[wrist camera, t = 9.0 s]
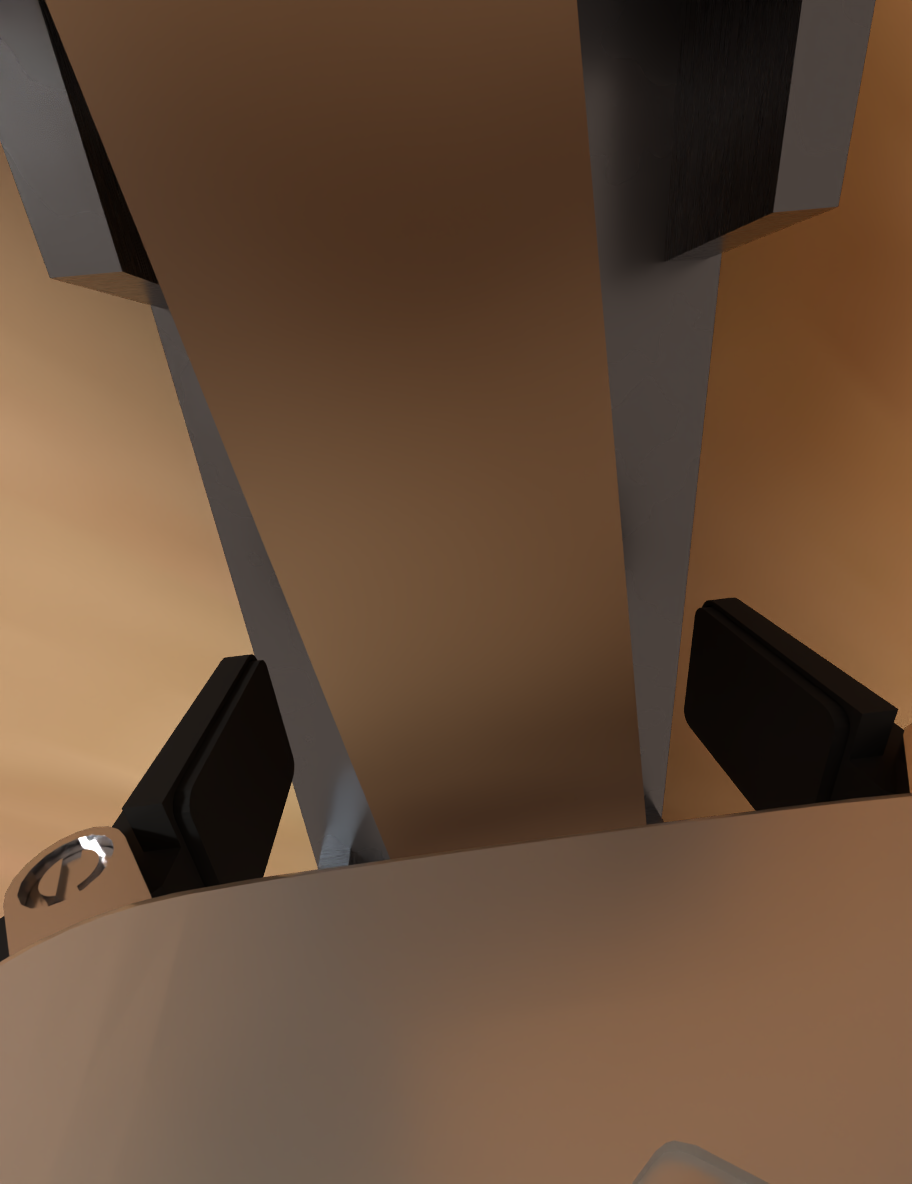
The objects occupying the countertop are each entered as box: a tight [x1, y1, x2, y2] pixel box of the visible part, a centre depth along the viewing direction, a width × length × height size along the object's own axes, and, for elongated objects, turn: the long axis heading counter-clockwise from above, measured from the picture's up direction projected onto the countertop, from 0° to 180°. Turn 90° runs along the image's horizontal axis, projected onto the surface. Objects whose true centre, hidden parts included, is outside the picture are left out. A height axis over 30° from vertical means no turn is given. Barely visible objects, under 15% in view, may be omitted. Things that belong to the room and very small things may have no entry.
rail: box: [45, 0, 646, 859], centre depth 11 cm, size 22×4×6 cm, turn 12°
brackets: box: [0, 0, 876, 869], centre depth 12 cm, size 27×12×4 cm, turn 5°
